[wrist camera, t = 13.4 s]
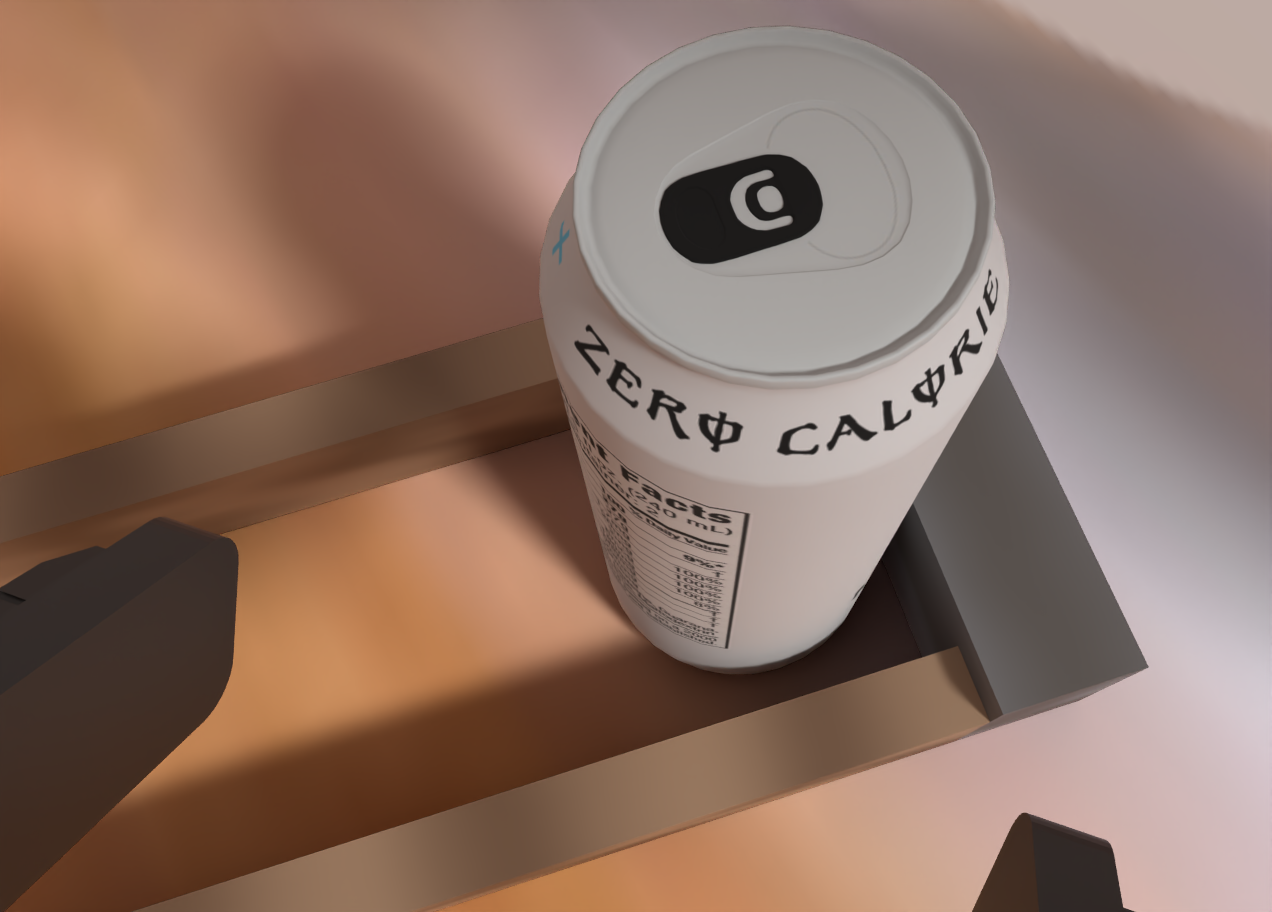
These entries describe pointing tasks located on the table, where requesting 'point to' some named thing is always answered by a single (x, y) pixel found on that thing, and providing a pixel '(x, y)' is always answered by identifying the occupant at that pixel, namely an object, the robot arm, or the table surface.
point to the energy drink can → (767, 329)
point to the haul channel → (668, 770)
